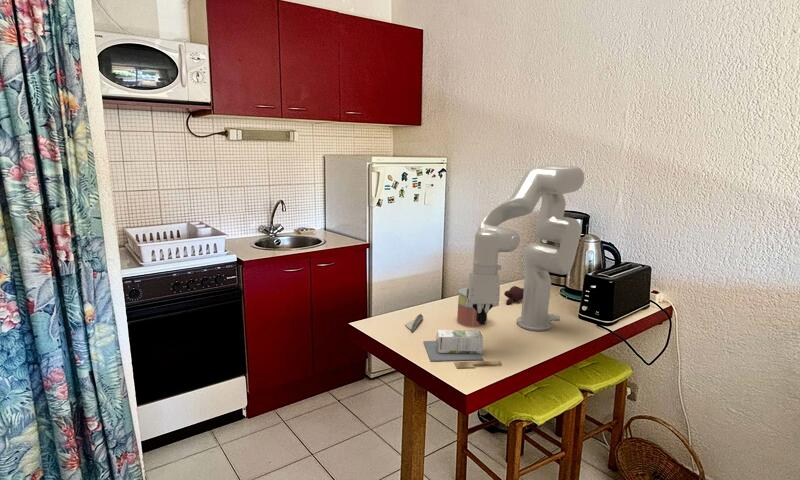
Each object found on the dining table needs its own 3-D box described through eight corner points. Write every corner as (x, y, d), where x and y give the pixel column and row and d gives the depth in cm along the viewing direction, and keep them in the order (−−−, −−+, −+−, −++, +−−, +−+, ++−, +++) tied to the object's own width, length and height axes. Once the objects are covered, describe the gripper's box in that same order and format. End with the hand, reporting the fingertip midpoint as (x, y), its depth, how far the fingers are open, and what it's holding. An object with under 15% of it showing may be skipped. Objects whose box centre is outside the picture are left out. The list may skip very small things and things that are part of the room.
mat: (472, 341, 157) (472, 339, 157) (483, 360, 143) (483, 359, 143) (423, 342, 155) (423, 341, 155) (430, 361, 141) (430, 360, 141)
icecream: (517, 281, 204) (497, 290, 195) (531, 281, 199) (511, 291, 189) (520, 296, 205) (500, 306, 195) (534, 296, 199) (514, 307, 190)
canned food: (475, 314, 181) (477, 285, 178) (492, 324, 171) (495, 294, 169) (451, 318, 176) (452, 289, 173) (467, 329, 166) (470, 298, 164)
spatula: (498, 362, 142) (498, 359, 142) (502, 367, 139) (502, 364, 139) (454, 363, 141) (454, 360, 141) (456, 369, 137) (457, 366, 137)
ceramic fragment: (413, 334, 162) (413, 324, 161) (399, 331, 163) (400, 321, 163) (424, 320, 175) (424, 311, 174) (411, 318, 176) (411, 309, 176)
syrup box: (479, 346, 152) (435, 346, 151) (480, 330, 151) (436, 329, 150) (482, 354, 146) (437, 353, 146) (483, 336, 145) (438, 336, 145)
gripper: (503, 265, 148) (499, 318, 152) (459, 265, 147) (455, 319, 151) (511, 272, 141) (507, 327, 145) (464, 272, 139) (461, 328, 143)
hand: (481, 323), depth 148 cm, fingers closed
